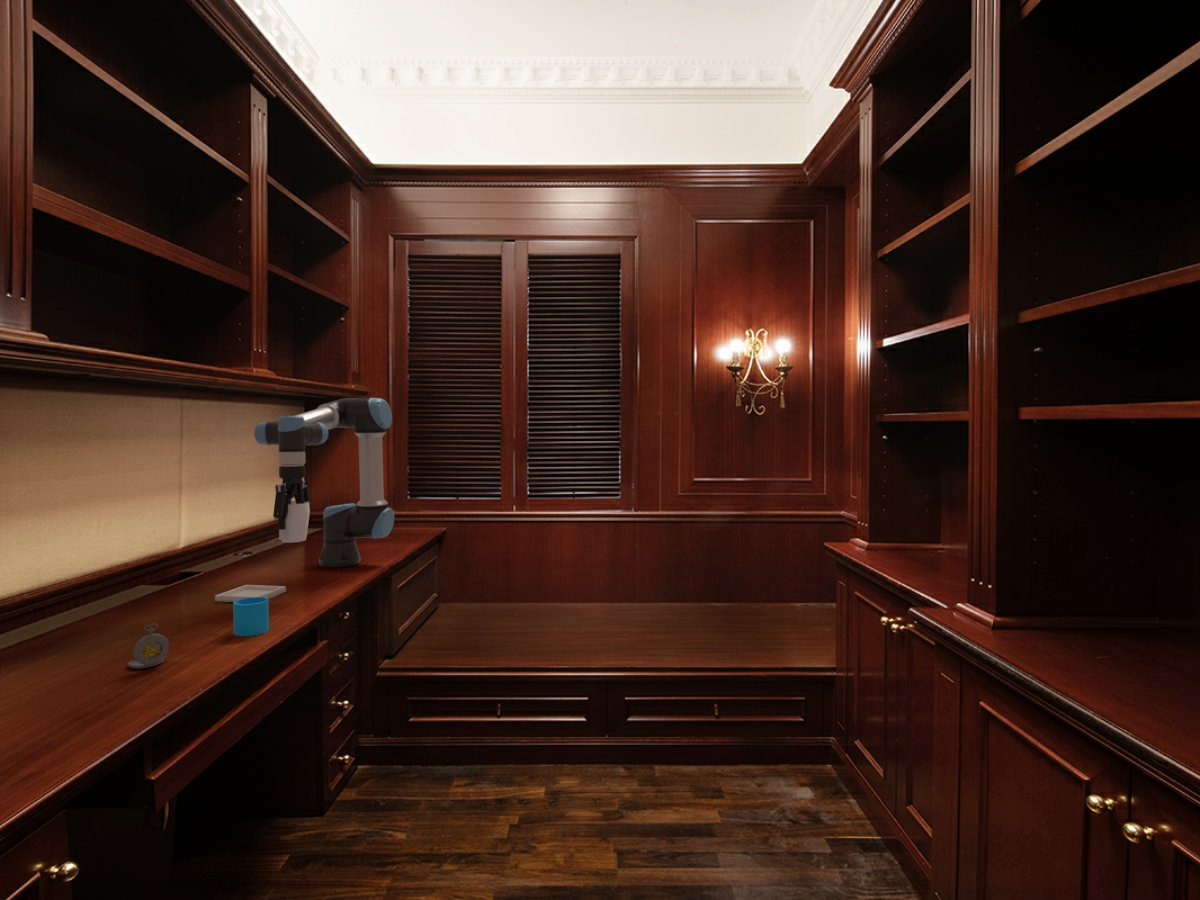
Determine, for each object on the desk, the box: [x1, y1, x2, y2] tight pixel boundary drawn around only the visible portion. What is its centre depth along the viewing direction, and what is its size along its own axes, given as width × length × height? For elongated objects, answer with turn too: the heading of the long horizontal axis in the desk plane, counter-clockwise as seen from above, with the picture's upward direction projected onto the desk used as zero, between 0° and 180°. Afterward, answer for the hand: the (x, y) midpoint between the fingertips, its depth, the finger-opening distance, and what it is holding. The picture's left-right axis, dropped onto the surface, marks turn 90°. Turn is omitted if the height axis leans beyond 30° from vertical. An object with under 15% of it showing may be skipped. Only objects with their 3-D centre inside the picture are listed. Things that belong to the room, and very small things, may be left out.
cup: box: [282, 500, 311, 544], centre depth 206 cm, size 9×9×12 cm
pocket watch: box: [128, 623, 170, 669], centre depth 146 cm, size 8×8×10 cm
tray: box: [214, 584, 287, 603], centre depth 206 cm, size 14×14×2 cm
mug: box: [232, 597, 270, 637], centre depth 173 cm, size 12×8×8 cm
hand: (293, 537), depth 206 cm, fingers closed on cup, 9 cm apart
